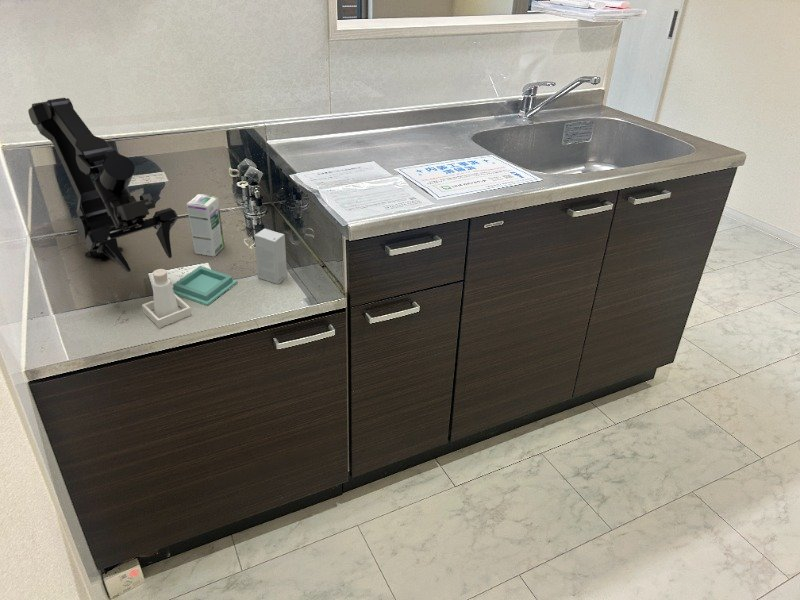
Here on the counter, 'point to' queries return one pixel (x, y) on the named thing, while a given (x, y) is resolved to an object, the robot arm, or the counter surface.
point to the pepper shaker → (163, 294)
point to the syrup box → (205, 224)
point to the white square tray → (169, 318)
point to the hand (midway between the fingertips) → (150, 264)
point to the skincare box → (271, 255)
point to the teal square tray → (203, 285)
